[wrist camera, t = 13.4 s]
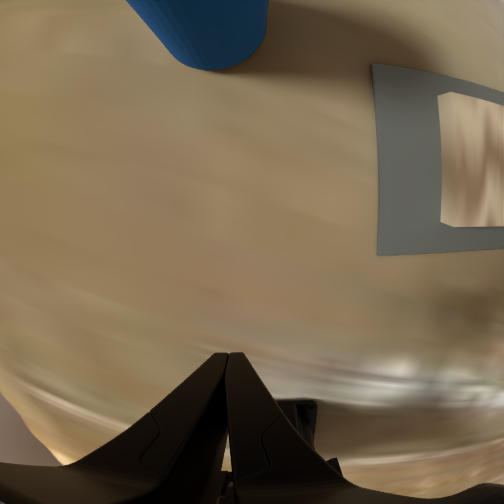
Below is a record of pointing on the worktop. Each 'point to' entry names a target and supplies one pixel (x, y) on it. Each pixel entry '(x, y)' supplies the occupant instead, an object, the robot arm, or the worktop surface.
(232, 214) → the worktop surface
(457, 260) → the worktop surface
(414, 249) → the mat
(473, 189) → the rectangular block
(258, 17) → the beverage can
